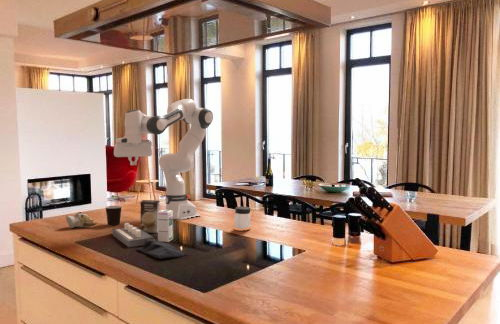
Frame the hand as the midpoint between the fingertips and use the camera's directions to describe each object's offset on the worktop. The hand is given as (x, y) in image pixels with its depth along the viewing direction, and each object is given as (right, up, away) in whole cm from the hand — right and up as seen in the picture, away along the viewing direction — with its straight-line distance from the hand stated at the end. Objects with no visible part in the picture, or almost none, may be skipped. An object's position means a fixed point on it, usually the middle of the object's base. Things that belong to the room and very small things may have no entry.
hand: (133, 165), depth 225 cm
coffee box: (+11, -35, -7) cm, 37 cm away
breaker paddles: (+6, -33, -23) cm, 41 cm away
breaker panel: (+6, -36, -23) cm, 43 cm away
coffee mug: (-13, -34, +9) cm, 37 cm away
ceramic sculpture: (-29, -34, 0) cm, 45 cm away
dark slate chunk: (+25, -39, -44) cm, 64 cm away
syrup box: (+22, -37, -24) cm, 49 cm away
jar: (+59, -35, 0) cm, 69 cm away
